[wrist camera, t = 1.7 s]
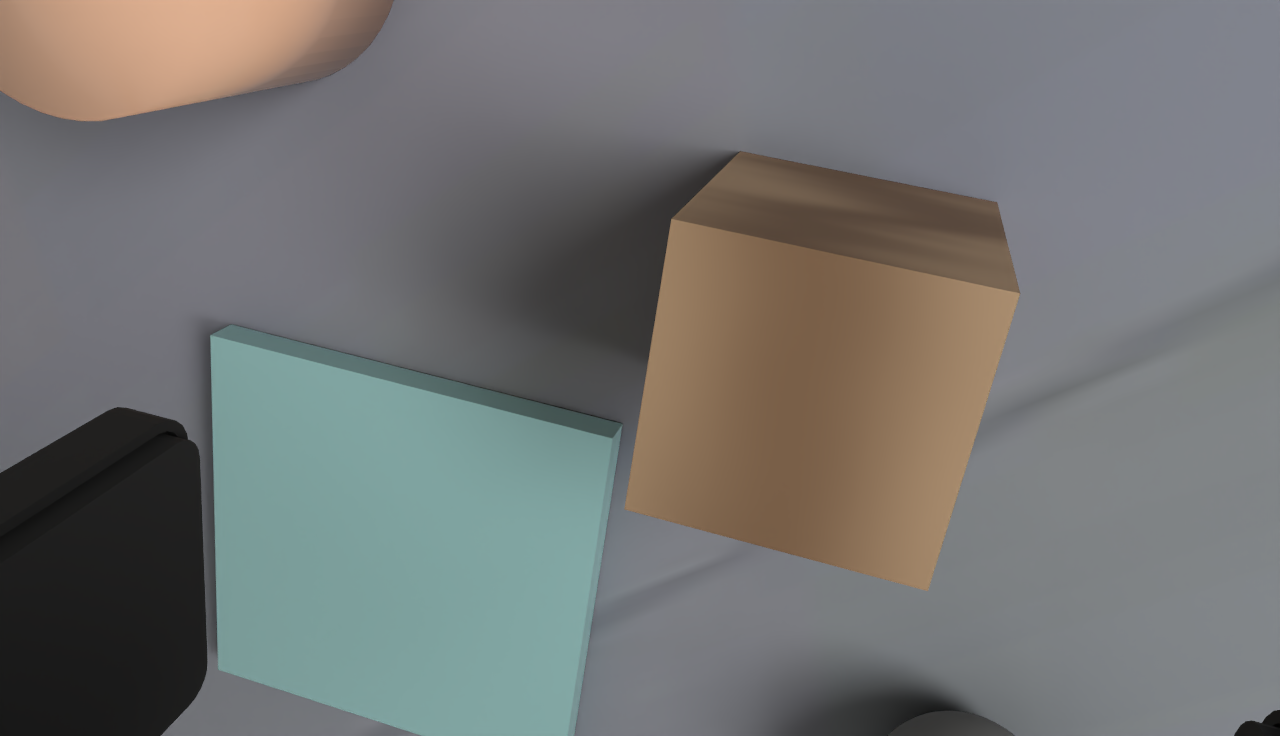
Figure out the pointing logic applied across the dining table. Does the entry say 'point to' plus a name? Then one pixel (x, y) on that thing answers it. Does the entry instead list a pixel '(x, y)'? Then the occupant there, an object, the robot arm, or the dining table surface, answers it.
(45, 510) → the robot arm
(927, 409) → the walnut block
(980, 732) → the rubber ball
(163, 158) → the dining table surface
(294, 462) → the coaster
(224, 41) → the beige rounded cylinder
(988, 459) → the dining table surface
